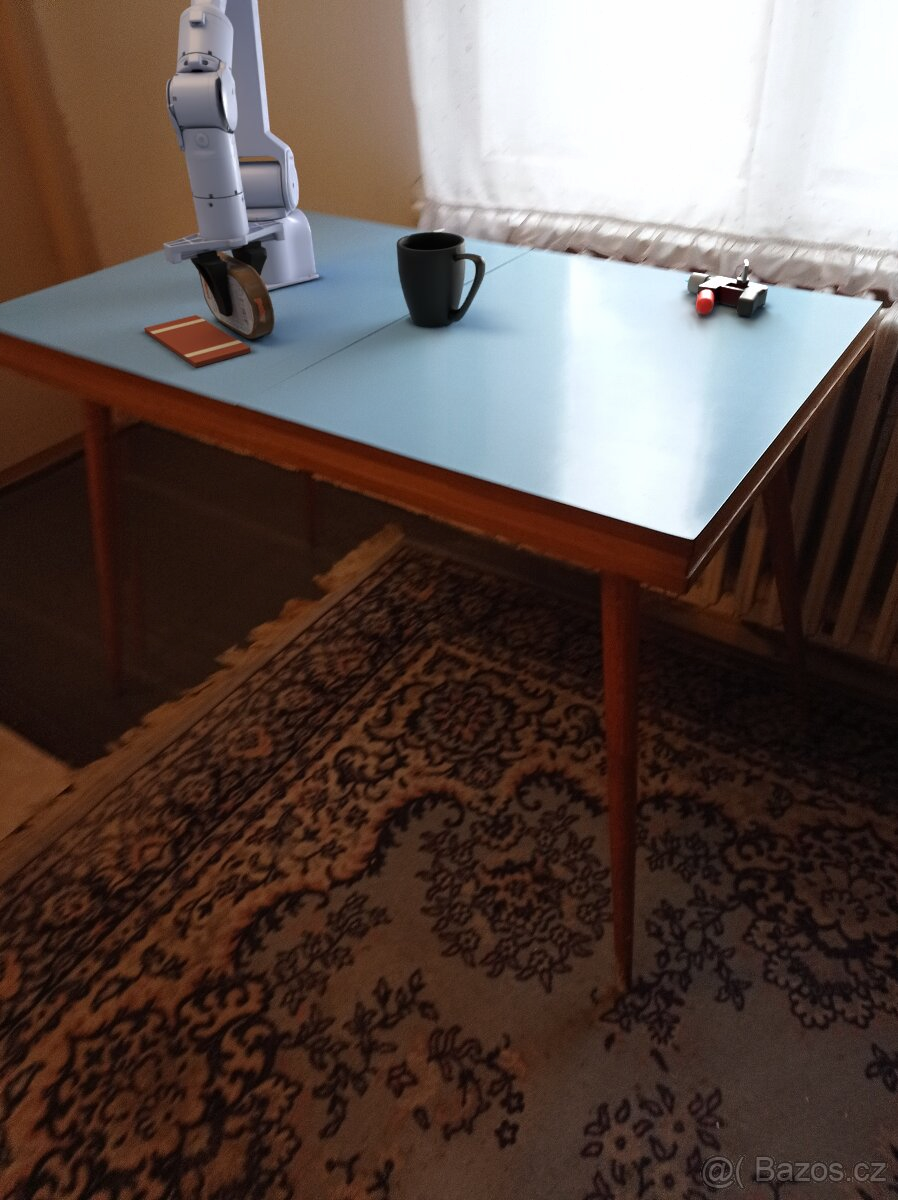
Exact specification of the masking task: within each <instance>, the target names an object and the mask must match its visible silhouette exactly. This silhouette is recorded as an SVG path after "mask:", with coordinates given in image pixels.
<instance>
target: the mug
mask: <svg viewBox="0 0 898 1200" xmlns="http://www.w3.org/2000/svg"><path fill="white" fill-rule="evenodd" d="M396 256H397V272H398V278H399V283H400V286H401V291H402V295H403V299H404V301H405V304H406V307H407V309H408V312H409V315H410V319H411V322H412V323H413V324H414V325H417V326H419V327H425V328H438V327H445V326H448V325H451V324H452V323H455V322H458V321H460V320H461V319H462V318H464V316H466V313H467V312H468V310H469V308H470V307H471V306H472V303H473V301H474V299H475V297H476V296H477V293H478V291H479V289H480V287H481V285H482V284H483V283H482V282H483V281H484V277H485V275H486V260H485V259H484V257H483V256H482V255H479V254H475V253H469V252H467V253H466V241H465V238H464V237H463V236H461V235H459V234H456V233H452V232H445V231H442V232H433V231H426V232H425V231H424V232H418V233H417V232H416V233H412V234H408V235H405V236H403V237H400V238H399V239H398V240H397V241H396ZM466 260H469V261H472V263H473V264H474V267H475V268H474V269H475V270H474V278H473V281H472V284H471V286H470V289H469V291H468V293H467V295H466V297H465V299H464V300H463V303H462V305H461V306H460V302H461V299H462V294H463V290H464V286H465V285H464V284H465V277H466Z"/></svg>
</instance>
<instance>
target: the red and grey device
mask: <svg viewBox="0 0 898 1200" xmlns="http://www.w3.org/2000/svg"><path fill="white" fill-rule="evenodd" d="M749 267H750V262H749V259H748V258H747V259H746V258H745V259H743V265H742V272H741V276H737V277H736V279H735V278H730V277H726V276H720V275H716V276H715V277H712V276H711V275H709V274H704V273H700V272H692V273H691V275H690V276H689V278H688V279H687V280H684V281H685V282H686V283H687V286H686V287H687V292H688V293H692V294H696V302H695V309H696V312H698V314H701V315H708V314H709V313H710V312H712V310H713V308H714V305H715V304H717V303H719V304H724V305H728V306H732V307H735V308H736V314H737V315H741V316H745V317H751V316H752V315H753V314H754V313H755V311H756V309H757V308H759V307H764V306H765V305H766V301H767V296H768V292H769V291H768V290H769V287H768V286H767V285H765V284H760V283H755V282H750V278H749V277H748V274H749Z"/></svg>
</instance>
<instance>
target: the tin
mask: <svg viewBox="0 0 898 1200" xmlns="http://www.w3.org/2000/svg"><path fill="white" fill-rule="evenodd" d="M217 255H218V256H220V259H221V260H222V261H224V262H226V263H227V286H228V293H229V298H230V303H231V309H232V316H228V317H226V316H224V315H222V314H221V313H220V312H219V309H218V307H217V304H216V301H215V299H214V297H213V295H212V293H211V291H210V289H209V287H208V285H207V283H206V282H205V280H204V278H203V277H202V275H201V274H200V272H199V271H198V270H197V271H198V272H197V273H198V275H199V280H200V283H201V288H202V291H203V297H204V300H205V302H206V305H207V307H208V309H209V311H210V312H211V314H212V315H213V317H214V318H215V320H217V321H218V322H219V323H221V324H223V325H224V326H226V327H227V328H228V329H230V330H232V331H234V332H236V333H237V334H239V335H240V336H242V337H243V338H246V339H248V340H255V339H258V338H260V337H264V336H270V335H271V334H272V333H273V331H274V327H275V311H274V307H273V306H274V305H273V303H272V300H271V296H270V293H269V290H267V288H266V286H265V284H264V282H263V280H262V278H261V277H260V276H259V274H258V273H257V272H256V270H255V269H254V268H252V267H251V266H249V265H247V264H245V263H243V262H241V261H239V260H237V259H235V258H233V256H231V255H229V254H227V253H225V252H224V251H223V252H219V253H217Z"/></svg>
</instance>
